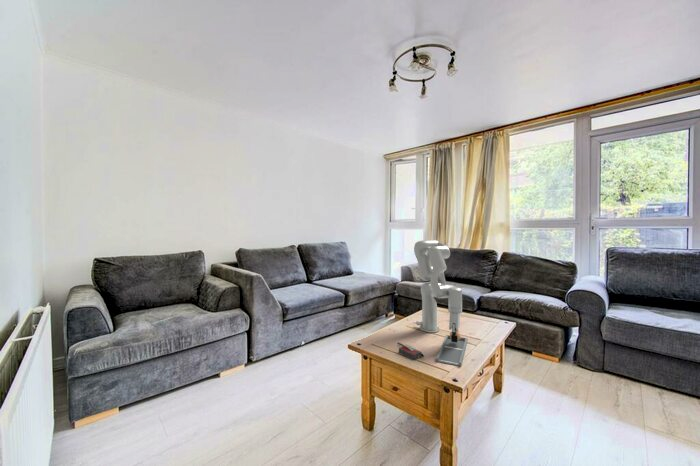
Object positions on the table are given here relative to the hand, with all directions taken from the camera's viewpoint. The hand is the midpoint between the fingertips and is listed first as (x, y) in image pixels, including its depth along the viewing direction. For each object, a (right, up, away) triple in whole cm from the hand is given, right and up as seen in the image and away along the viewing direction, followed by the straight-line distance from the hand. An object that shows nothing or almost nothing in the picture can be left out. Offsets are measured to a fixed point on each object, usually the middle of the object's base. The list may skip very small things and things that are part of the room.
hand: (454, 339), depth 168 cm
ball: (0, +2, 0) cm, 2 cm away
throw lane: (-4, -3, -8) cm, 9 cm away
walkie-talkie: (-30, -4, -9) cm, 31 cm away
